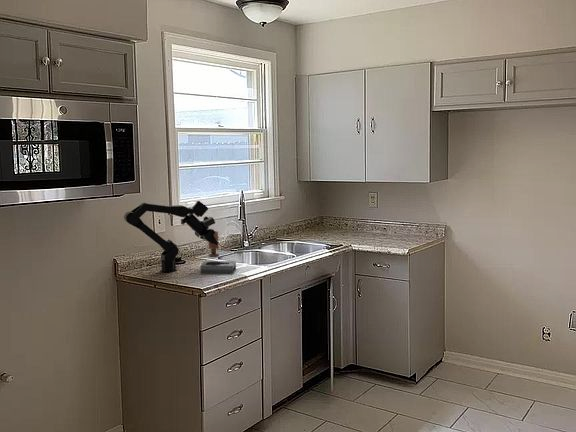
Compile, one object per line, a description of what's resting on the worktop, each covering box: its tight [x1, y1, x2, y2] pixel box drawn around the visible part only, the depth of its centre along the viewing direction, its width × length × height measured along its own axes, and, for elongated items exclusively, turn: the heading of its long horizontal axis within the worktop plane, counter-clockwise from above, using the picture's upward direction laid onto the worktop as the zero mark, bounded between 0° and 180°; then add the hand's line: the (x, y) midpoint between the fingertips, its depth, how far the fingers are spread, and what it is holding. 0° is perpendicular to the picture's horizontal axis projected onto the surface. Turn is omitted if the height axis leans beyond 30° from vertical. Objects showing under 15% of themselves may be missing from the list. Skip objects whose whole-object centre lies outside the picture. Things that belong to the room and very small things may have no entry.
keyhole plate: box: [199, 260, 237, 275], centre depth 305 cm, size 16×13×4 cm
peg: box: [208, 230, 220, 258], centre depth 315 cm, size 5×5×13 cm
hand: (216, 243), depth 316 cm, fingers closed on peg, 5 cm apart
